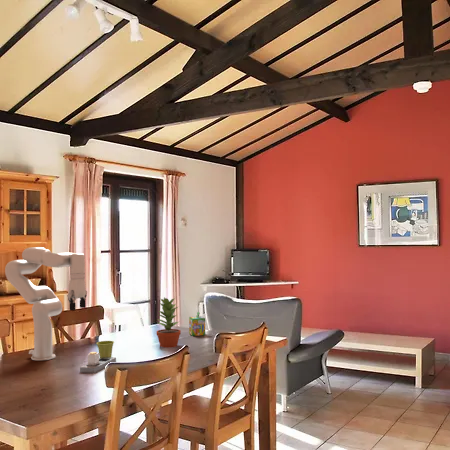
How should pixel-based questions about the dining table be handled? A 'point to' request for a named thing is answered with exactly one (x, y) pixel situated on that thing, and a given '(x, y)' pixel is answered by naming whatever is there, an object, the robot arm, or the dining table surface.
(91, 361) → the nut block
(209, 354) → the dining table surface
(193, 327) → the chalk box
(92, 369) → the grey slotted tray
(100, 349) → the plant pot
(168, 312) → the potted plant
